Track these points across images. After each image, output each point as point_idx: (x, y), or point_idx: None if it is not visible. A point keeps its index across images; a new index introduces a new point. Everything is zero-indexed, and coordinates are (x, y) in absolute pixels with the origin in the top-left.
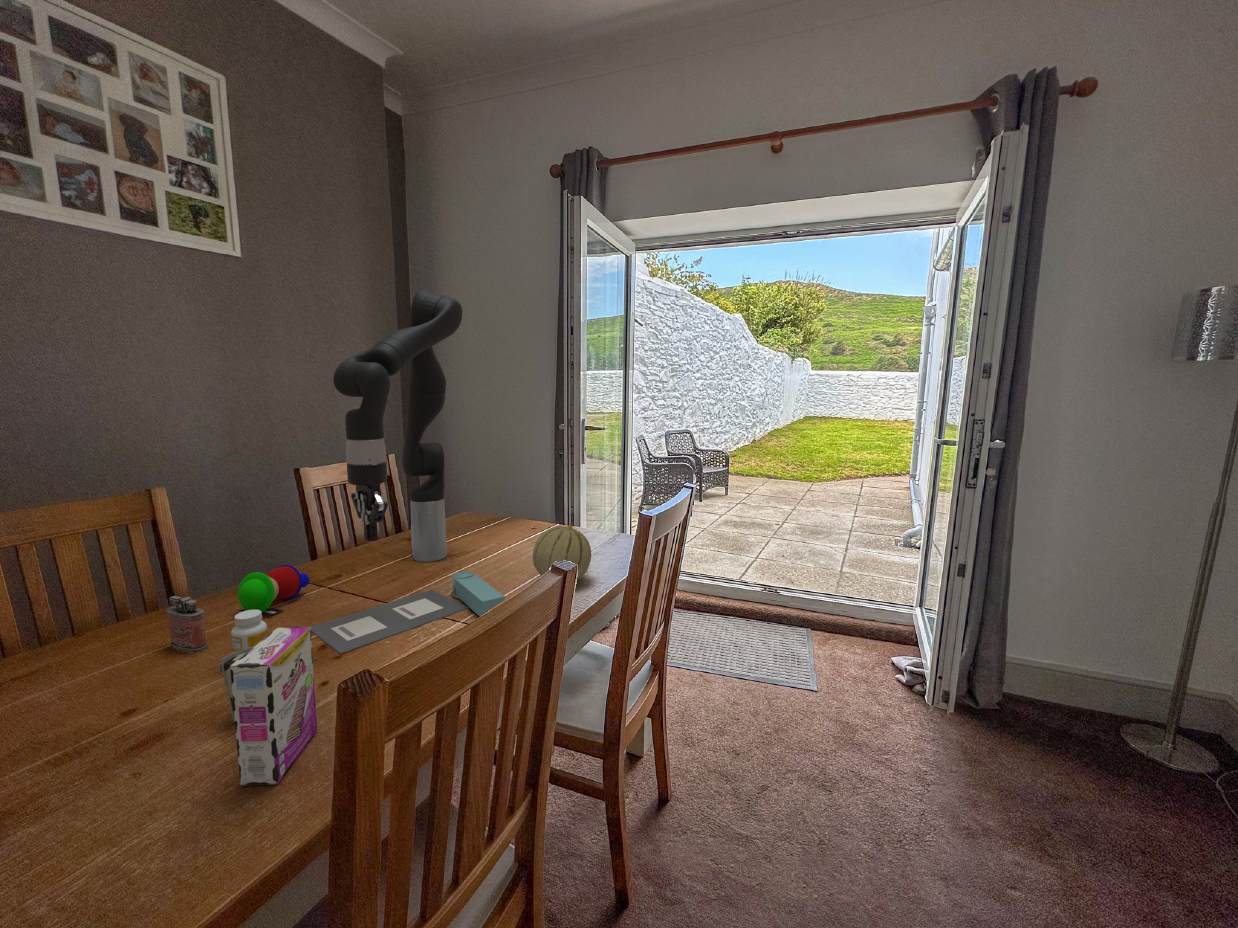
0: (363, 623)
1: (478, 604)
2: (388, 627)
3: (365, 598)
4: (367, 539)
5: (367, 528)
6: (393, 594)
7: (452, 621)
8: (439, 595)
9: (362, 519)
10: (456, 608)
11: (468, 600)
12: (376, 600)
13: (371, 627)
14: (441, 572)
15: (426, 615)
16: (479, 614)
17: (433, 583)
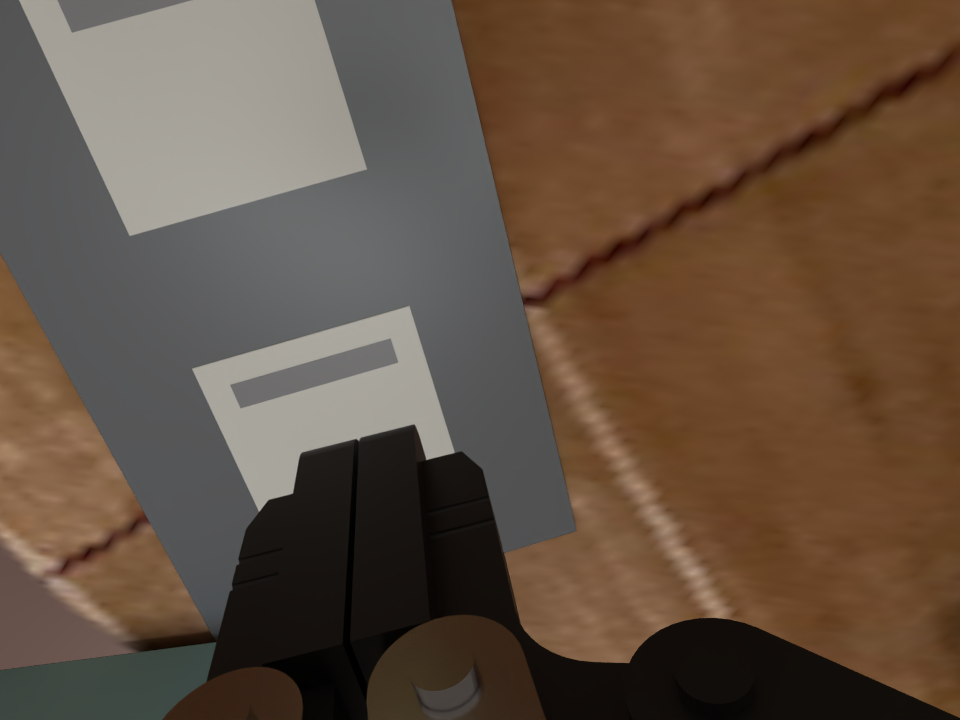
0: (258, 113)
1: (19, 716)
2: (123, 240)
3: (688, 194)
4: (298, 462)
5: (281, 611)
6: (643, 348)
7: (74, 545)
8: None
9: (435, 698)
10: (231, 589)
11: (187, 672)
12: (613, 248)
13: (165, 148)
14: (788, 605)
15: (209, 451)
16: (33, 672)
17: (663, 550)
